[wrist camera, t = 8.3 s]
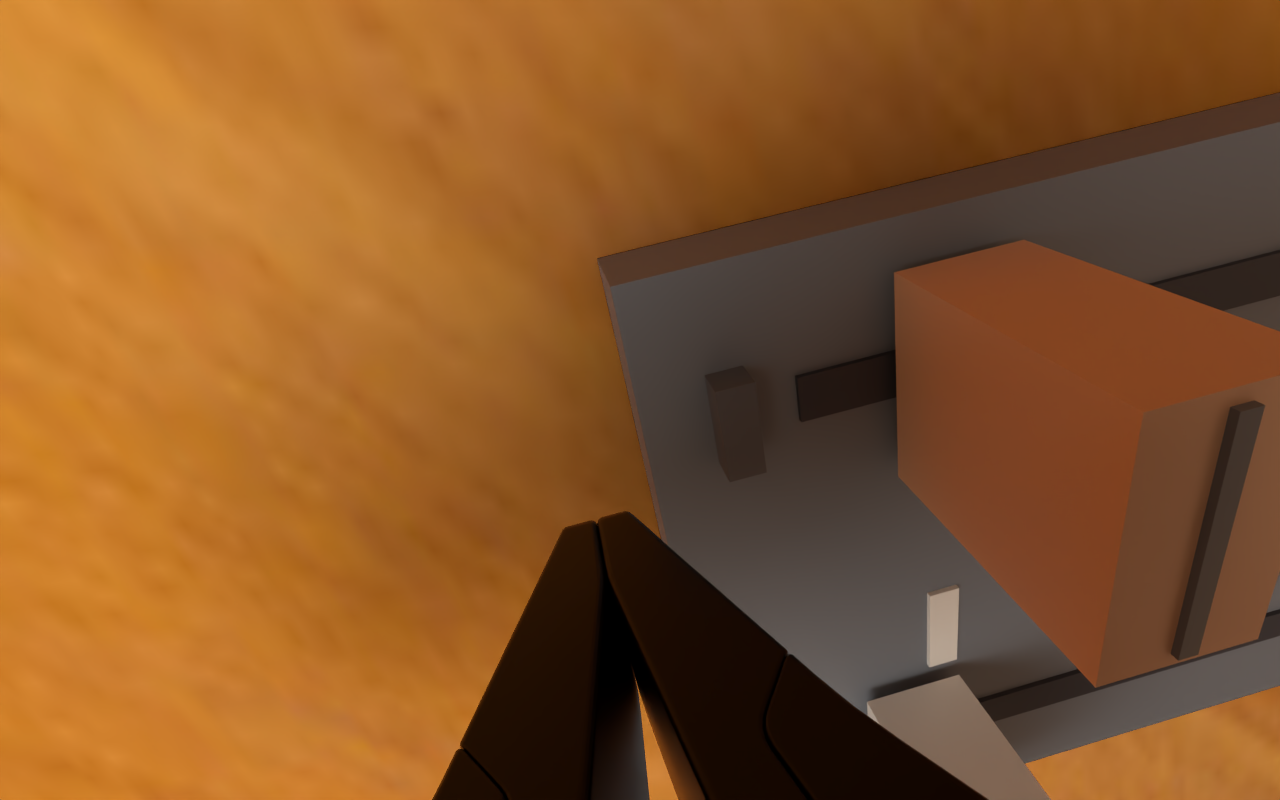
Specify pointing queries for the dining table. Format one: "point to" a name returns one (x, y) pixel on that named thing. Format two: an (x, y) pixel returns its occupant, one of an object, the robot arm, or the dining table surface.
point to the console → (867, 409)
